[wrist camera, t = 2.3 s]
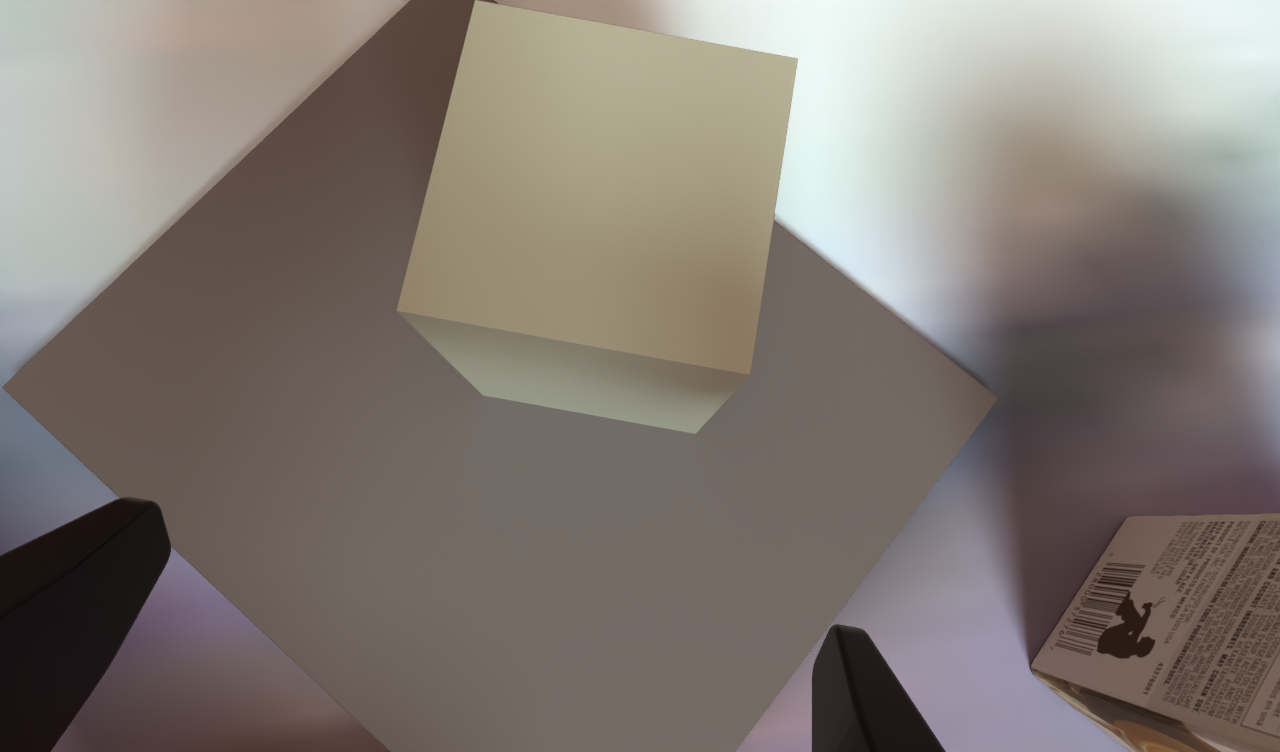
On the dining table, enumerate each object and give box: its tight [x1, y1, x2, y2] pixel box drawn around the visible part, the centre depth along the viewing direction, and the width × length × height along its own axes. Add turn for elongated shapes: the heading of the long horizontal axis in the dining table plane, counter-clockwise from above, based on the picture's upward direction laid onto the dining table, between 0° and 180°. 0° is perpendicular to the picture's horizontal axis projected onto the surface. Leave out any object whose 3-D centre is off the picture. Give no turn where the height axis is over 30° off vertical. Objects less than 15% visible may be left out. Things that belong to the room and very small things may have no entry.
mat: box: [2, 0, 999, 752], centre depth 24 cm, size 24×20×1 cm
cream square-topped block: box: [397, 0, 798, 434], centre depth 19 cm, size 7×7×10 cm
